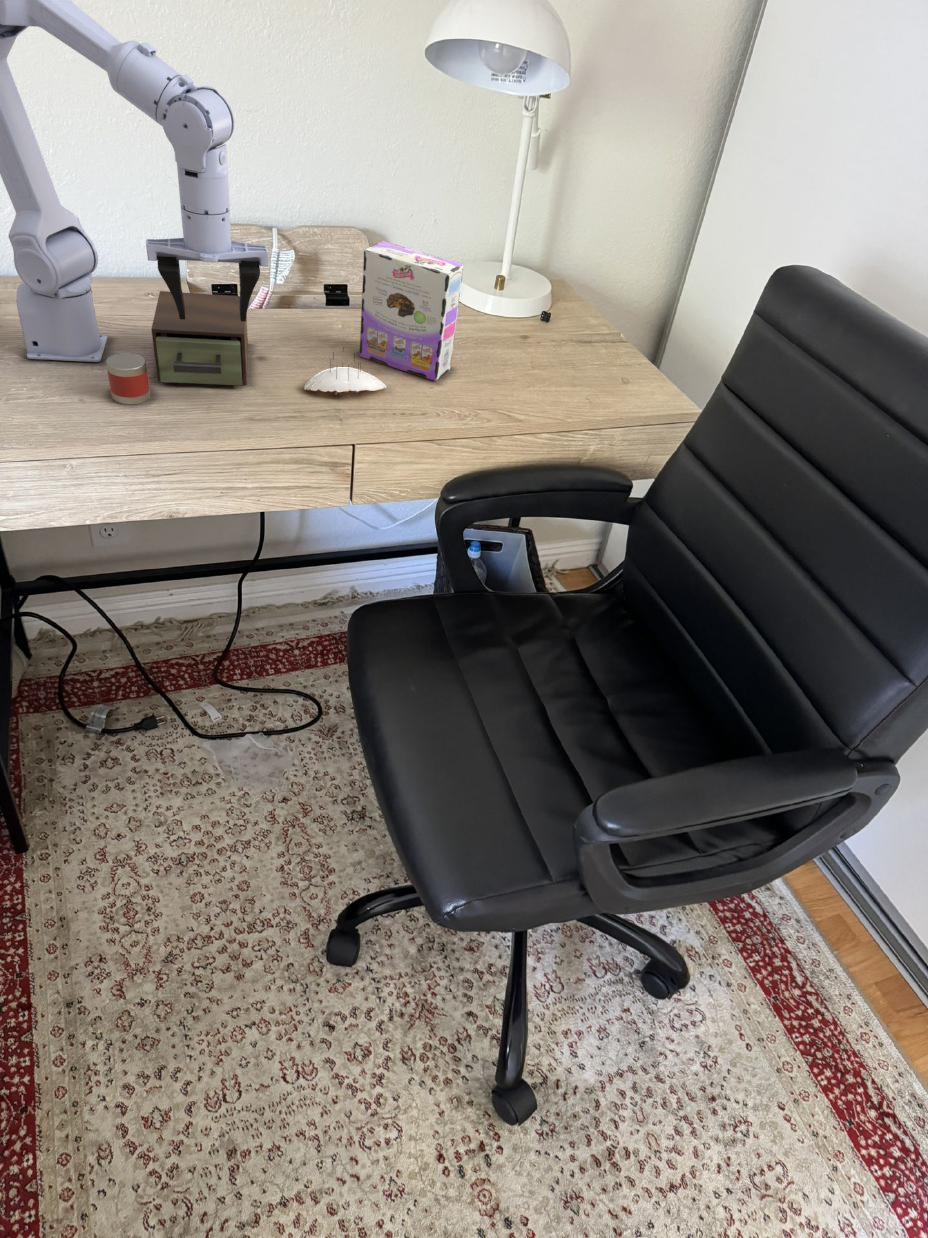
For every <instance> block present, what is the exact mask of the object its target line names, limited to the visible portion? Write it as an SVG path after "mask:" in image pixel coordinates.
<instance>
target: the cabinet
mask: <svg viewBox="0 0 928 1238" xmlns="http://www.w3.org/2000/svg"><path fill="white" fill-rule="evenodd" d="M182 293H183V299H184V305H185V320H184V319H180V318H179V313H178V309H177V306H176V304H175V301H174V298H173V296H172V294H171V292H170V291H166V290H160V291H159V294H158V298H157V303H156V307H155V310H154V316H153V320H152V324H151V338H152V346H153V355H154V361H155V362H154V363H155V369H156V376H157V382H161V380H160V372H159V364H158V356H157V348H156V337H161V335H160V333H172V334H190V335H208V336H226V337H240V346H241V347H240V349H241V369H242V385H243V386H247V385H248V357H249V355H248V353H249V351H248V350H249V342H248V341H249V339H248V338H249V337H248V318H247V315H248V314H247V315H246V321H241V319H240V295H227V294H226V295H225V294H213V293H212V294H211V293H196V292H183V291H182ZM242 385H241V386H242Z"/></svg>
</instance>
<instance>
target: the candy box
mask: <svg viewBox="0 0 928 1238" xmlns="http://www.w3.org/2000/svg"><path fill="white" fill-rule="evenodd" d="M464 265H465V264H464V263H460V262H457V261H453V260H449V259H446V258H442V257H439V256H435V255H432V254H430V253H429V254H428V253H426V252H422V251H419V250H415V249H411V248H408V247H404V246H401V245H398V244H395V243H391V242H387V241H384V240H381V241H379V242H377V243H375V244H372V245H371V246H369V247H367V248H365V249H364V250H363V266H362V267H363V268H362V269H363V270H362V291H361V312H360V313H361V314H360V333H359V335H360V336H359V351H358V356H360V357H361V358H364V359H367V360H370V361H372V362H376V363H378V364H382V365H385V366H388V367H392V368H394V369H397V370H400V371H404V372H407V373H409V374H413V375H415V376H419V377H422V378H425V379H427V380H432V381H434V382H437V381H438V380H439V379H440V378H442V376H444V375H445V374H446V373H448V372H450V370H451V368H452V367H451V366H452V358H453V351H454V342H455V335H456V329H457V321H458V320H457V319H458V313H459V303H460V297H461V296H460V295H461V289H462V282H463V273H464Z"/></svg>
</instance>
